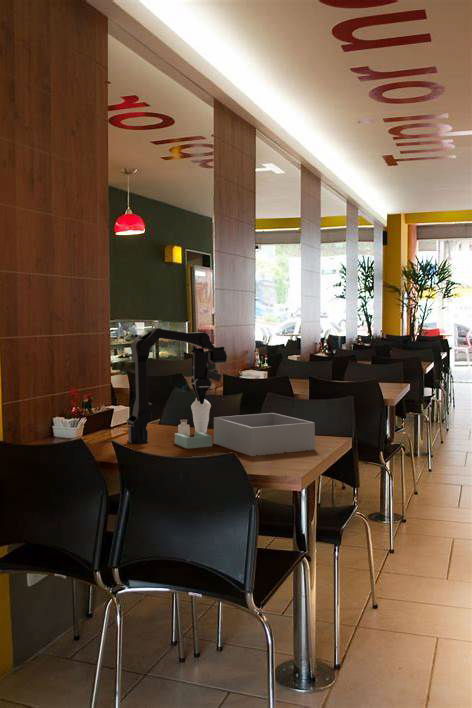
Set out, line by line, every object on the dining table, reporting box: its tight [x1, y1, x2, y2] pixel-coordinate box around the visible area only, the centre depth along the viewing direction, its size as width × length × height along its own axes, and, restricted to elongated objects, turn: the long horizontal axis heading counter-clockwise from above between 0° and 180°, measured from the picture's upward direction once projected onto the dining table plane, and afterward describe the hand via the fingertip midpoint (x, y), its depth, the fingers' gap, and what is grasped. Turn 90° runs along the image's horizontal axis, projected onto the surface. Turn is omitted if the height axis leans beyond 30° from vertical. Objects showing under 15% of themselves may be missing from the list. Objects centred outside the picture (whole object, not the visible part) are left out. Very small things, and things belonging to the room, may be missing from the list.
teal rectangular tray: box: [174, 431, 213, 449], centre depth 273 cm, size 10×12×4 cm
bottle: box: [177, 419, 191, 437], centre depth 281 cm, size 4×4×8 cm
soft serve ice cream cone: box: [190, 397, 212, 434], centre depth 301 cm, size 8×8×16 cm
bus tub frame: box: [213, 412, 316, 457], centre depth 269 cm, size 26×30×10 cm
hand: (200, 402), depth 290 cm, fingers open, 9 cm apart
